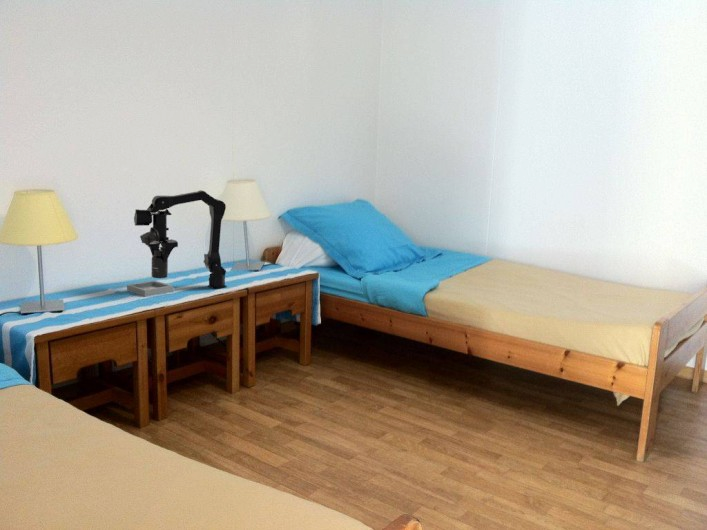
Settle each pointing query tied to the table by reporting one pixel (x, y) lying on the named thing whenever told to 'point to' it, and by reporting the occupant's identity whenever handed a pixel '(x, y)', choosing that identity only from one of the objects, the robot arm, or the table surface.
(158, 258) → the supplement bottle
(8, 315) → the table surface
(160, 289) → the tray
